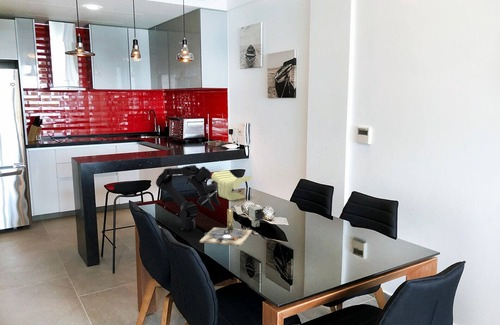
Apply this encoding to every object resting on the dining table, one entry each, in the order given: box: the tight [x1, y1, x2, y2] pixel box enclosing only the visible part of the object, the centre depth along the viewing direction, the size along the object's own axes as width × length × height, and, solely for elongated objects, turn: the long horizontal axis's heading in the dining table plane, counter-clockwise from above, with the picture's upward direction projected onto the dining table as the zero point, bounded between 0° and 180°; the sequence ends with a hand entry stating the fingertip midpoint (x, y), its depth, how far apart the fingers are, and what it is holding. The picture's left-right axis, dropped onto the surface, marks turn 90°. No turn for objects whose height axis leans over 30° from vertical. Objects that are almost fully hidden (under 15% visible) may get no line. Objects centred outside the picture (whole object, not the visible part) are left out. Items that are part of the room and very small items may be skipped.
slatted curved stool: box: [211, 170, 253, 201], centre depth 298 cm, size 30×16×18 cm, turn 36°
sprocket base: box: [199, 227, 253, 247], centre depth 213 cm, size 22×22×3 cm
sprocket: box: [209, 208, 245, 241], centre depth 212 cm, size 18×18×12 cm
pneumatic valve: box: [247, 205, 265, 228], centre depth 231 cm, size 6×12×12 cm, turn 27°
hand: (217, 208), depth 218 cm, fingers open, 9 cm apart
